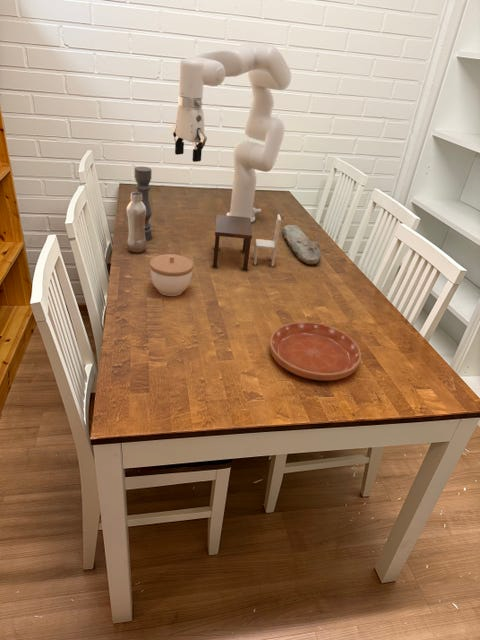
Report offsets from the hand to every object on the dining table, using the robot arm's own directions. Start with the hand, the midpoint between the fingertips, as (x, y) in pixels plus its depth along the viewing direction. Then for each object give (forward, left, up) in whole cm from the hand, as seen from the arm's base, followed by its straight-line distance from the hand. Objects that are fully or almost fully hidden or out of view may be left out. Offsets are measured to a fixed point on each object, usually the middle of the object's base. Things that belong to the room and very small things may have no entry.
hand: (187, 157), depth 161 cm
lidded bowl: (+23, +32, -30) cm, 50 cm away
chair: (-17, +27, -30) cm, 44 cm away
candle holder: (+13, -8, -30) cm, 34 cm away
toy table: (-7, +20, -30) cm, 37 cm away
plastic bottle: (+20, +2, -30) cm, 36 cm away
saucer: (+7, +78, -30) cm, 84 cm away
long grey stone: (-39, +21, -30) cm, 54 cm away
